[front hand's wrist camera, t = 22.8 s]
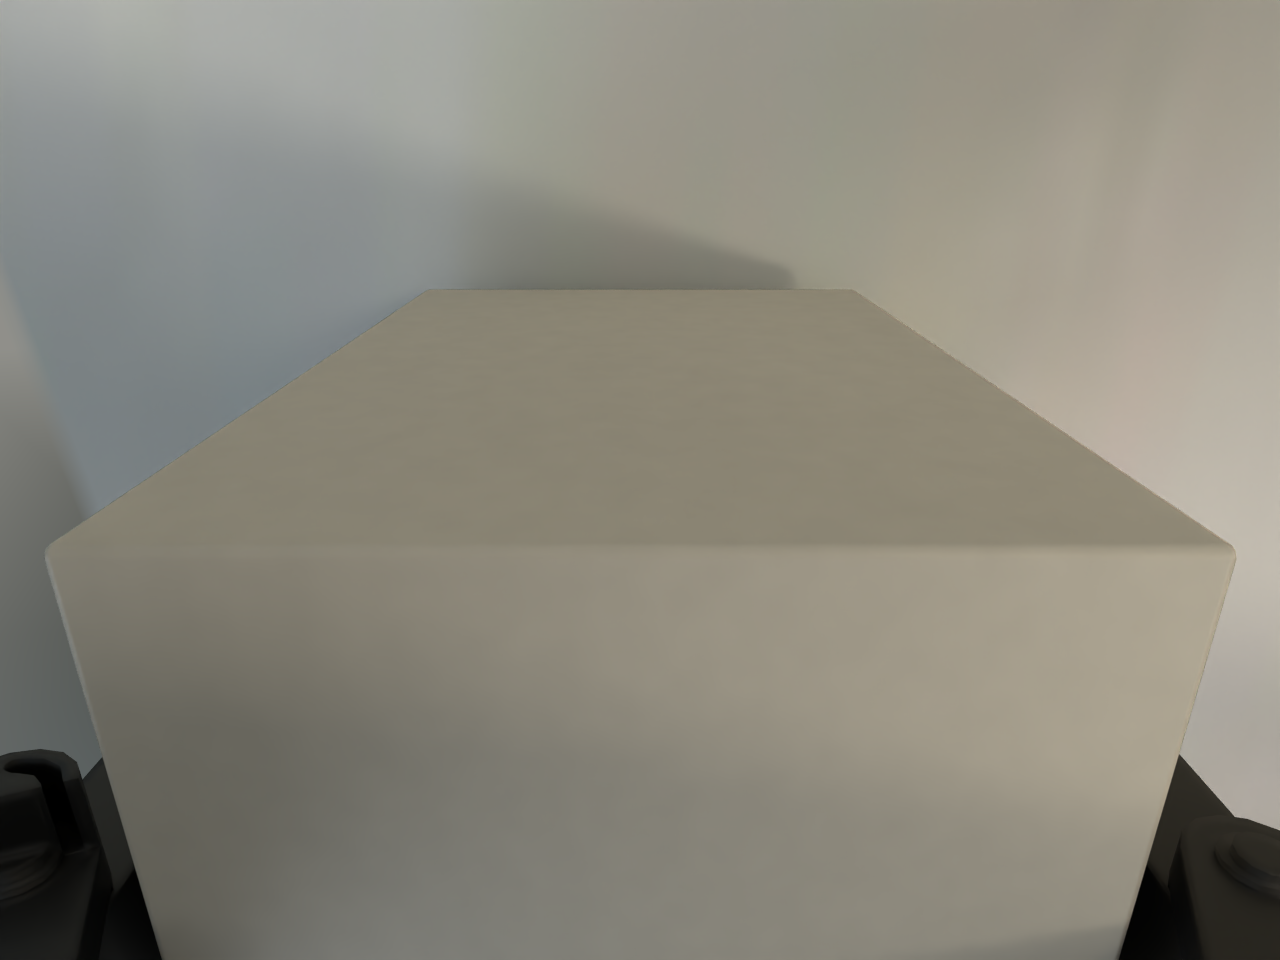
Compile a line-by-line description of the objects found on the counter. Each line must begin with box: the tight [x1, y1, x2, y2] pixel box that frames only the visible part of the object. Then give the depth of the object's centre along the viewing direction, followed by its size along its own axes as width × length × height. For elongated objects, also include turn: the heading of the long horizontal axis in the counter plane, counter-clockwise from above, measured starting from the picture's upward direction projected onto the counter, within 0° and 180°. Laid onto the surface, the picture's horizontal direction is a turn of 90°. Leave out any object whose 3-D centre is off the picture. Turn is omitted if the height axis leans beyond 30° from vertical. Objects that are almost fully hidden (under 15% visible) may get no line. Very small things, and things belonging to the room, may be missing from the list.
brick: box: [44, 290, 1236, 960], centre depth 12 cm, size 9×8×11 cm
